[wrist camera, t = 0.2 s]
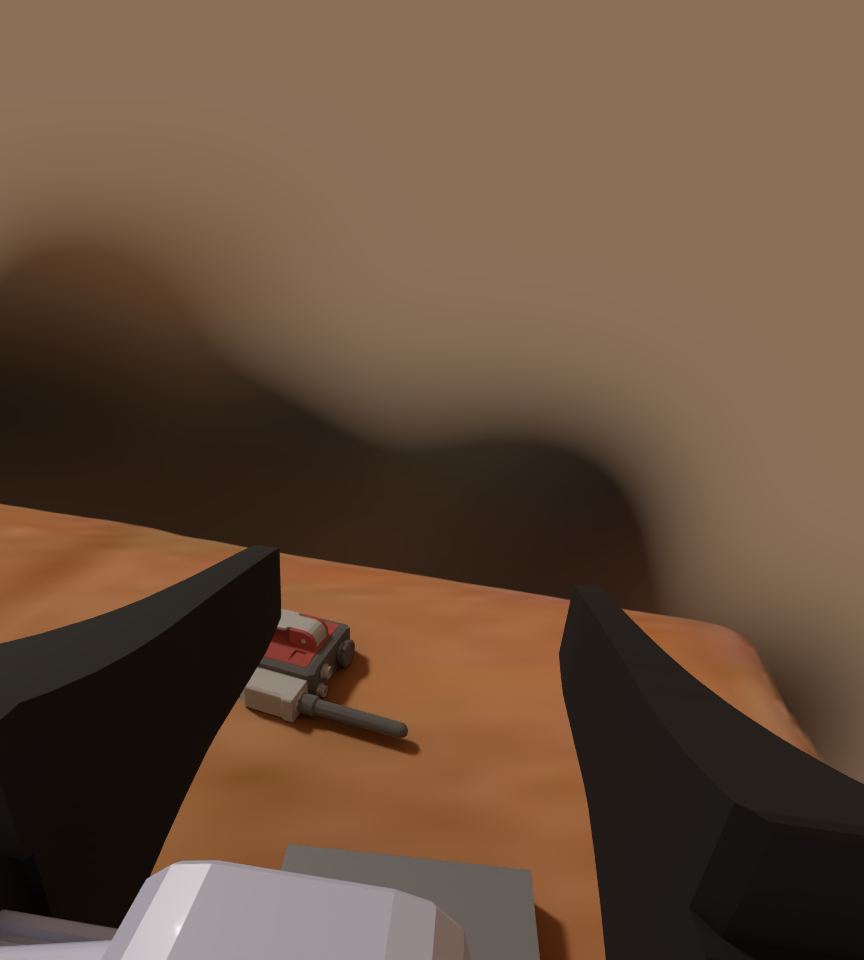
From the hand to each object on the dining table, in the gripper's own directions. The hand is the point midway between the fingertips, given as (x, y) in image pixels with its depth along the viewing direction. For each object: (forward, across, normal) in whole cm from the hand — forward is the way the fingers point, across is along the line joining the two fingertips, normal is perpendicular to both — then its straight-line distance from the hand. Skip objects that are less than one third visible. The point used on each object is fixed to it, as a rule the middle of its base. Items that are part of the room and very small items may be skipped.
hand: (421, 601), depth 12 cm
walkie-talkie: (+20, +10, +23) cm, 32 cm away
